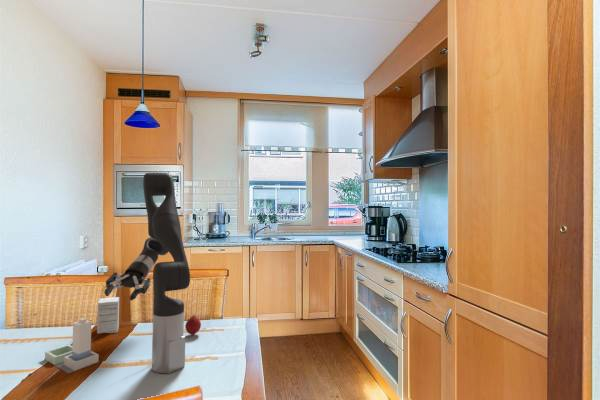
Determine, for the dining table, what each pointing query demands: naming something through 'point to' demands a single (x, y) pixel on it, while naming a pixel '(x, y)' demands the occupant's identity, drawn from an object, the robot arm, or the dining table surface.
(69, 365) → the double bin tray
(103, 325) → the supplement box
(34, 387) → the dining table surface
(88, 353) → the milk carton
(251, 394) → the dining table surface
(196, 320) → the onion
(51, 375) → the dining table surface
